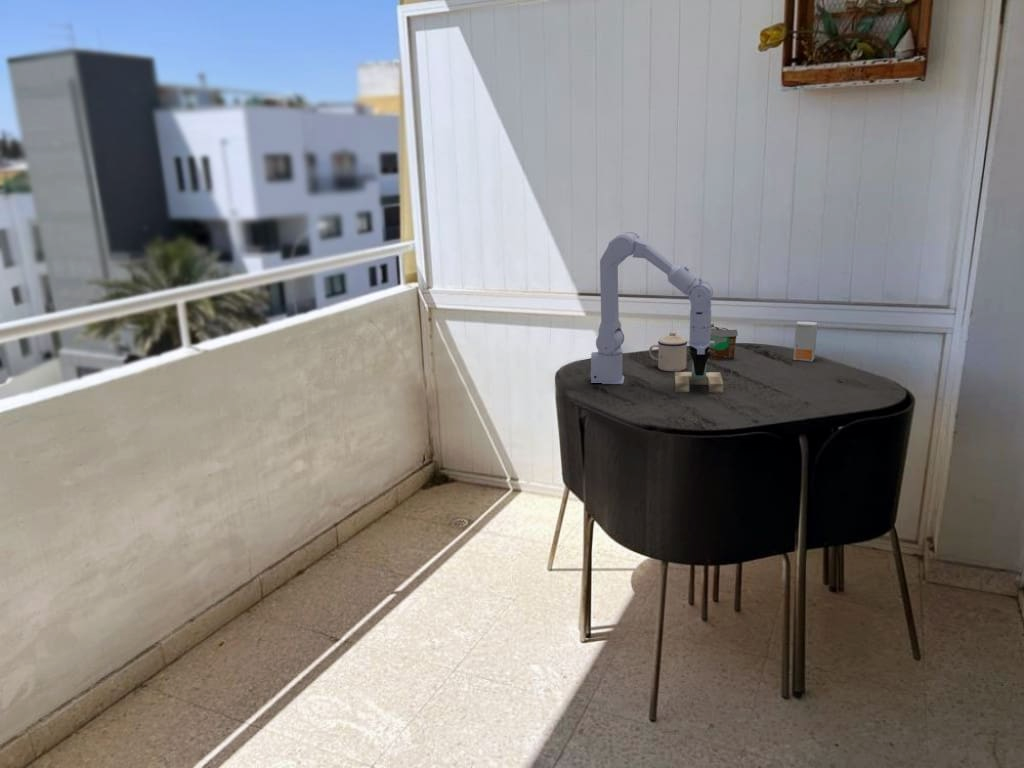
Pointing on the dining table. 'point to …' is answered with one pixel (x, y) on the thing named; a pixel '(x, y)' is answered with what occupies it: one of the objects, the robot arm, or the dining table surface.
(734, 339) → the food container
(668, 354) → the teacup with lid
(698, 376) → the teal peg
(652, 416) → the dining table surface
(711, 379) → the notched board
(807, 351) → the skincare box
